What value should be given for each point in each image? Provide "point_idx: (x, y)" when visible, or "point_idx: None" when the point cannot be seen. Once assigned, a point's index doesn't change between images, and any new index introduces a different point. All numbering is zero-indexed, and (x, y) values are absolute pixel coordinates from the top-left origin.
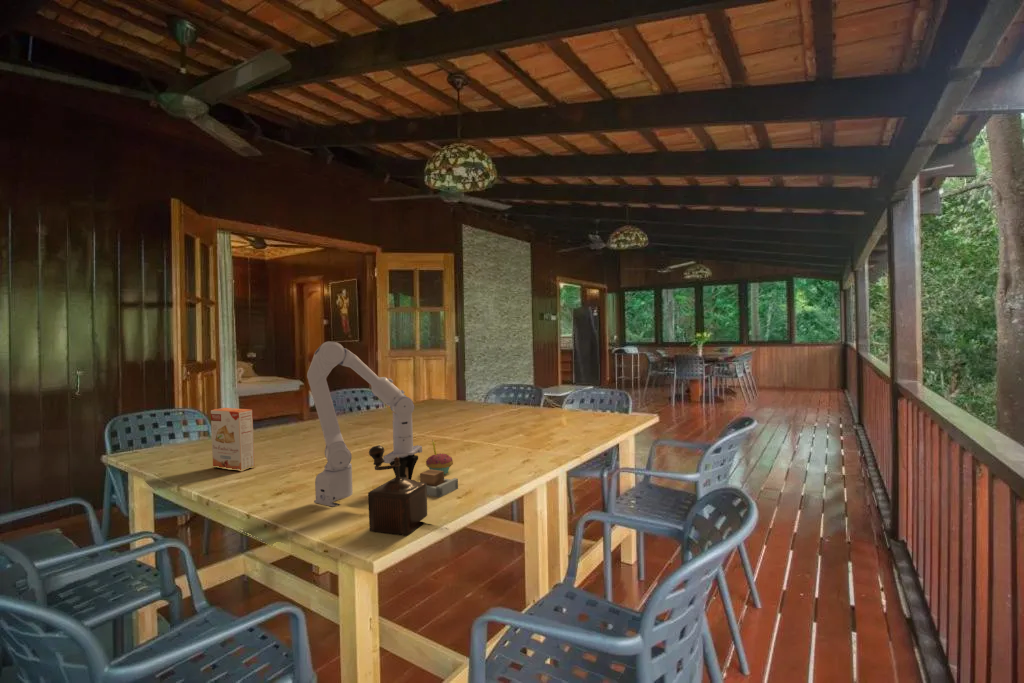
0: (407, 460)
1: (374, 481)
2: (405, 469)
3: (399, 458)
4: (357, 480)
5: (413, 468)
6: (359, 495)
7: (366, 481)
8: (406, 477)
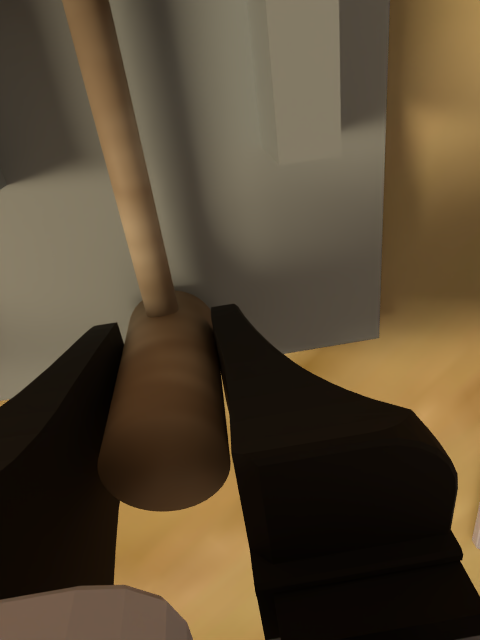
0: (62, 577)
1: (200, 575)
2: (182, 412)
3: (378, 628)
4: (249, 633)
5: (17, 398)
6: (468, 438)
7: (231, 598)
8: (173, 338)
